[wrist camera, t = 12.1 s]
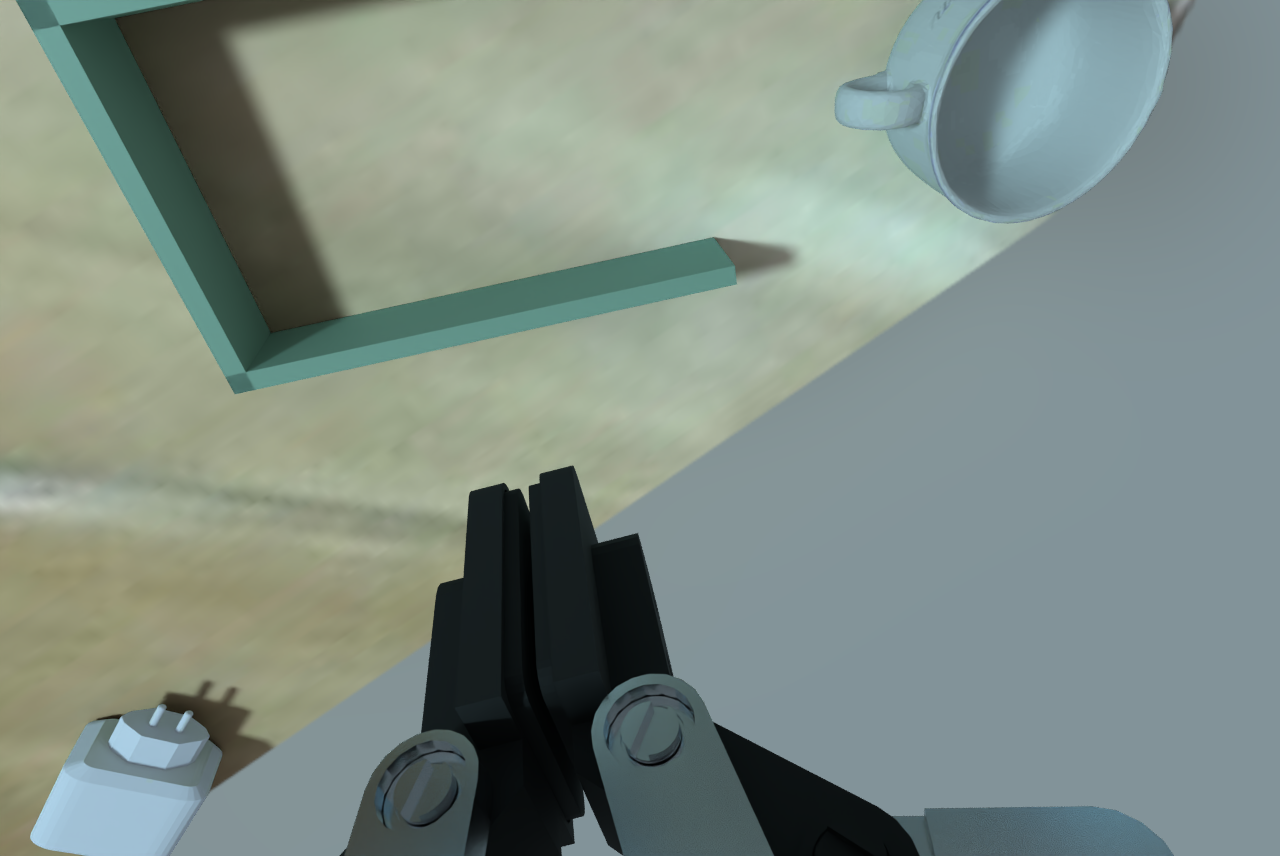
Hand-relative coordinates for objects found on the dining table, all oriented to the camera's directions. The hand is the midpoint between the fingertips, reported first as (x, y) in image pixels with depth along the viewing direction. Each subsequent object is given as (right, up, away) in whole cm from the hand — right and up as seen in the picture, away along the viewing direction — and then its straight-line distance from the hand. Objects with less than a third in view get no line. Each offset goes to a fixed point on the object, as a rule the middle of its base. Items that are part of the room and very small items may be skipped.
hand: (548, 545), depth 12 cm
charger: (-35, -21, +43) cm, 59 cm away
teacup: (+16, +20, +25) cm, 36 cm away
